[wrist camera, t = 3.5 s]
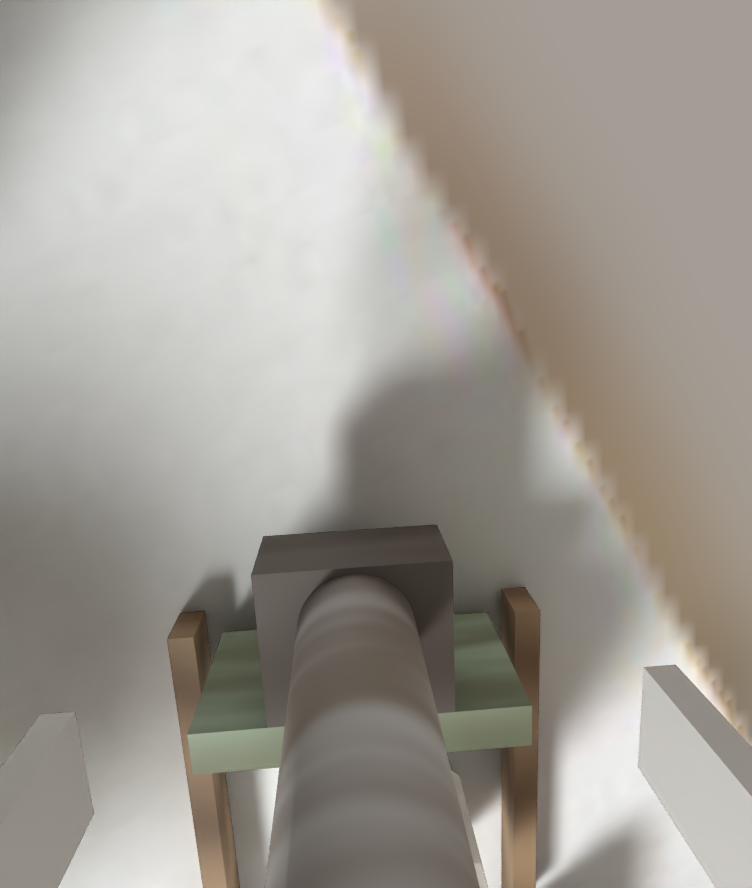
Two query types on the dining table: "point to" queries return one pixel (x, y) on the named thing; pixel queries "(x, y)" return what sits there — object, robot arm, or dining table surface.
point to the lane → (517, 762)
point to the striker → (360, 707)
